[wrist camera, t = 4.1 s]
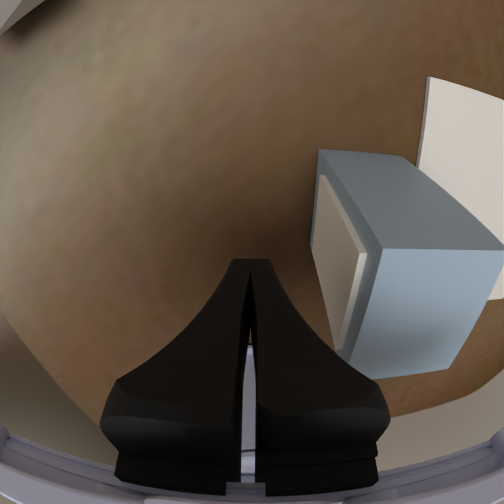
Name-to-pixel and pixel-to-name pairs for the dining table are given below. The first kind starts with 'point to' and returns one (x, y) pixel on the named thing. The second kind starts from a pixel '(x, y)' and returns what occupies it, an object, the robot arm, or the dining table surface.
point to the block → (397, 264)
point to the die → (14, 11)
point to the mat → (466, 152)
